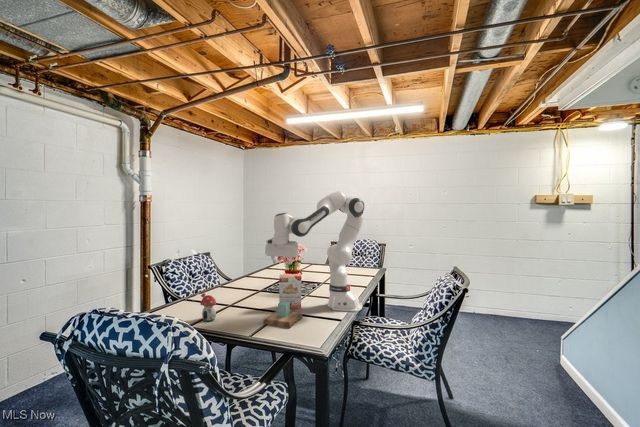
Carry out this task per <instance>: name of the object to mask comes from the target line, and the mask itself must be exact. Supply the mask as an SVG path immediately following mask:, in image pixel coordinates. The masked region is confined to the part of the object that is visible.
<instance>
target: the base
mask: <svg viewBox="0 0 640 427" xmlns="http://www.w3.org/2000/svg"><path fill="white" fill-rule="evenodd" d="M302 318H303V313H302V312H298V311H293V310H290V314H289V315H288V316H287V317H281V316H278V309H276V311H274V312H273V313H271V314H269V315H268V316H266V317H265V319H263V324H264V325H269V326H274V327H279V328H286V329H292V328H293V326H294V325H295V324H296V323H298V322H299V321H300V320H301V319H302Z"/></svg>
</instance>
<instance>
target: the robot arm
mask: <svg viewBox="0 0 640 427" xmlns="http://www.w3.org/2000/svg"><path fill="white" fill-rule="evenodd" d="M338 210H339V211H340V212H342V213H345V214H346V215H347V217H346V220H345V222H344V223H343V226H342V228H341V229H340V231H339V234H338V241H337V244H333V245H330V246H328V248H327V251H326V253H327V254H326V255H327V258H328V266H329V272H330V273H329V277H330V278H329V279H330V280H329V288H328V290H329V296H328V302H327V307H328V308H330V309H331V310H332V311H338V312H339V311H340V312H355V313H357V312H359V311H361V310H362V309H363V304H362V303H361V302H360V300H359V297H358V296H357V295H356V294H355V293H354V292H353V291H352V290H351V285H349V284H348V271H347V268H346V266H348V265H349V264H350V263H351V262H352V260H353V249H354V244H355V242H356V240H357V237H358V235H359V233H360V230H361V228H362V226H363V224H364V216H363V214H364V210H365V202H364V201H363V200H362V199H361V198H358V197H355V196H346V195H345V194H344V193H343V192H342V191H340V190H338V191H335V192H332V193H330V194H328V195H326V196H325V197H323V198H322V199H320V200H319V201H318V202H317V204H316V210H315V211H313V212H312V213H310V214H309V215H308V216H306V217H305V218H296V217H294V216H292V215H290V214H289V213H288V212H281V213H280V212H279V213H277V214H276V215H275V216H274V219H273V230H274V234H273V237H272V238H270V239H267V240H265V242H266V245H265V249H264V252H265V253H264V254H265V255H266V257H267V256H269V257H270V258H271V260H272V264H277V259H275V257H280V258H281V257H283V258H288V259H289V260H287V262H286V263H287V265H289V266H290V265H292V264H291V263H292V260H293V258H298V256H299V244H298V242H297V241H295V240H290V234H293V235H294V236H296V237H299V238H302V237H305V236H307V235H308V234H309V232H310V231H311V229H312V228H313V227H315V226H316V225H317V224H319V223H320V222H321V221H322V220H324V219H326V218H327V217H328V216H330V215H332V214H333V213H335V212H337V211H338Z"/></svg>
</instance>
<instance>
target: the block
mask: <svg viewBox="0 0 640 427" xmlns="http://www.w3.org/2000/svg"><path fill="white" fill-rule="evenodd" d="M277 310H278V316H281V317H287V316H288V315H289V314H290V311H291V308H290V302H285V301H281V302H280V303H277Z"/></svg>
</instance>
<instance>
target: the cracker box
mask: <svg viewBox="0 0 640 427" xmlns="http://www.w3.org/2000/svg"><path fill="white" fill-rule="evenodd" d="M278 282H279V283H278V284H279V285H278V286H279V292H278V294H279V296H278V297H279V298H278V302H279V303H280V302H281V301H285V302H290V309H302V274H300V273H299V274H298V273H297V274H294V273H292V274H291V273H290V274H288V273H285V274H284V273H281V274H280V273H279V280H278Z"/></svg>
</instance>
